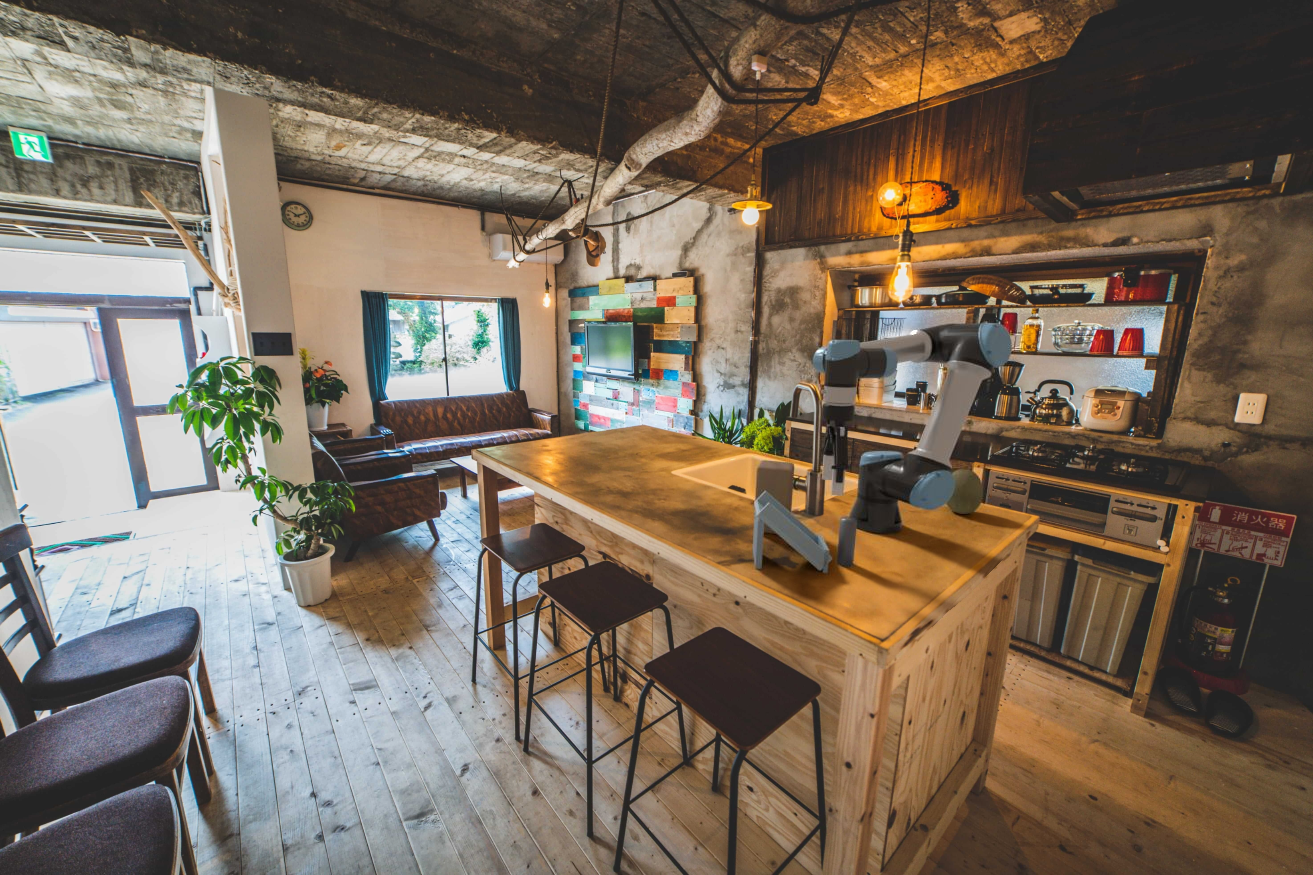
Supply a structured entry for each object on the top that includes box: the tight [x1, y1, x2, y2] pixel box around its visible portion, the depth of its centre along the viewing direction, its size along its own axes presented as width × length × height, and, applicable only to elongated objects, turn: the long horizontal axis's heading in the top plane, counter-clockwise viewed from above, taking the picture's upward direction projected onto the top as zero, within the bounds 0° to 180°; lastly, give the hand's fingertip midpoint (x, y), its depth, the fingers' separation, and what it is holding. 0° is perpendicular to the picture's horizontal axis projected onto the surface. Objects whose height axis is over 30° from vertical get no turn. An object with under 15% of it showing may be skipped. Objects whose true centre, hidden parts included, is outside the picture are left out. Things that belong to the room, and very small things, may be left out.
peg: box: [836, 515, 858, 568], centre depth 130 cm, size 4×4×12 cm
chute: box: [752, 491, 834, 574], centre depth 130 cm, size 19×10×17 cm, turn 83°
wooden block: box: [753, 459, 795, 535], centre depth 152 cm, size 10×10×20 cm
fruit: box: [945, 468, 984, 515], centre depth 169 cm, size 11×11×15 cm
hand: (831, 486), depth 130 cm, fingers open, 13 cm apart
